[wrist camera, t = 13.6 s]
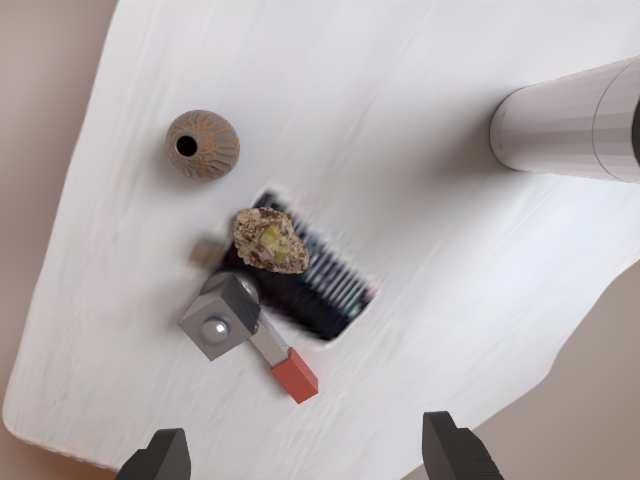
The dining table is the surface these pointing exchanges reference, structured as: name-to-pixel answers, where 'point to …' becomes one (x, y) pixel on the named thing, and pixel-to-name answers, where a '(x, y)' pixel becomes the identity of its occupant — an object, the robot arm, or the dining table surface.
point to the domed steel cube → (221, 318)
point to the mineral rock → (269, 241)
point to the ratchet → (272, 341)
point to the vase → (202, 145)
